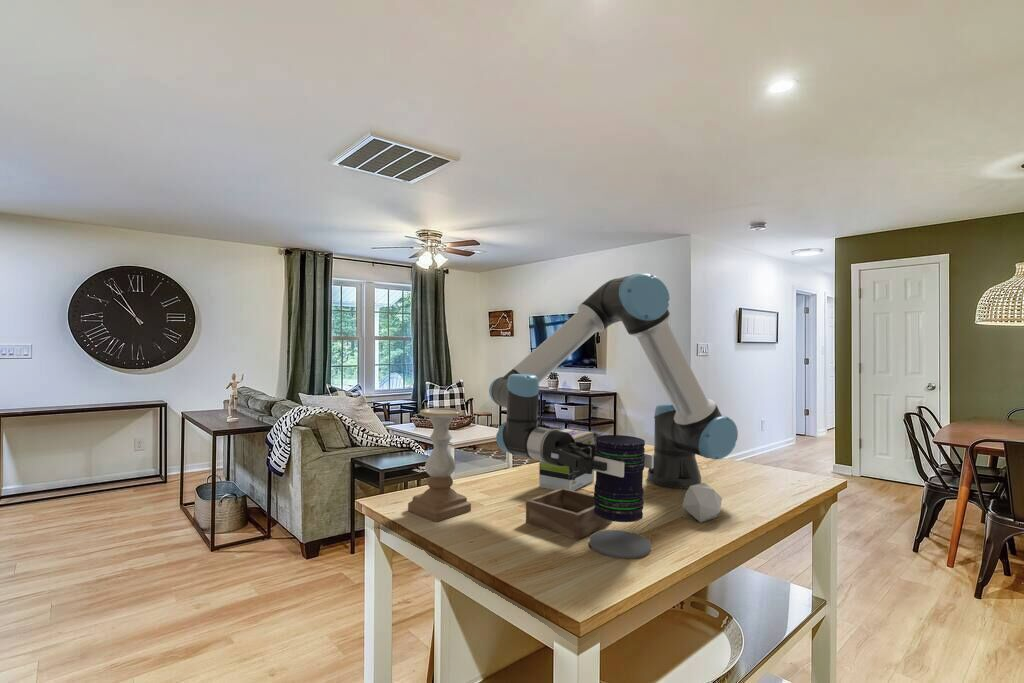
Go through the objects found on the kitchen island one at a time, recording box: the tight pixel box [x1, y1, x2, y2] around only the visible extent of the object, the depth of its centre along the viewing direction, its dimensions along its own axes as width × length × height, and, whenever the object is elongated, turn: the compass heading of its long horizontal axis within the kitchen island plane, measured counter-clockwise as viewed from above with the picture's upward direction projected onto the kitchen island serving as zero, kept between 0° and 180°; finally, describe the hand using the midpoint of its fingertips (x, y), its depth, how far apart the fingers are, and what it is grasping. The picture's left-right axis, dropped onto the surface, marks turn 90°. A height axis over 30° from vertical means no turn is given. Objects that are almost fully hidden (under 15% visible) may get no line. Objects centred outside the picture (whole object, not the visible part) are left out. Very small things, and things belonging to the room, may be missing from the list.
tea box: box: [538, 428, 595, 491], centre depth 147 cm, size 15×10×15 cm
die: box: [682, 482, 723, 523], centre depth 121 cm, size 8×9×10 cm
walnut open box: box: [525, 488, 613, 540], centre depth 116 cm, size 14×14×5 cm
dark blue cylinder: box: [593, 434, 646, 523], centre depth 103 cm, size 10×10×15 cm
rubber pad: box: [589, 529, 652, 560], centre depth 103 cm, size 12×12×1 cm
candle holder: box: [407, 407, 472, 523], centre depth 122 cm, size 11×11×24 cm
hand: (638, 465), depth 100 cm, fingers closed on dark blue cylinder, 10 cm apart
